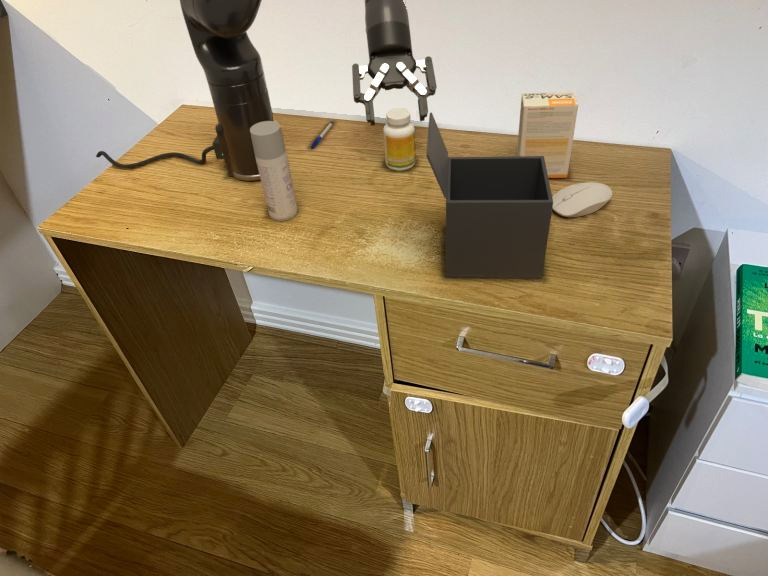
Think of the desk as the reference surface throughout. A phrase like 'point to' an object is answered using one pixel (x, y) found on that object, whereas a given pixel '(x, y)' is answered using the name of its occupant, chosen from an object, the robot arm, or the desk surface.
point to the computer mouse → (581, 199)
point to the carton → (497, 217)
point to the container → (274, 170)
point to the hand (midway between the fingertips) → (397, 122)
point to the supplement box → (548, 129)
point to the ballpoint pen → (321, 136)
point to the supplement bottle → (399, 140)
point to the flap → (437, 155)
